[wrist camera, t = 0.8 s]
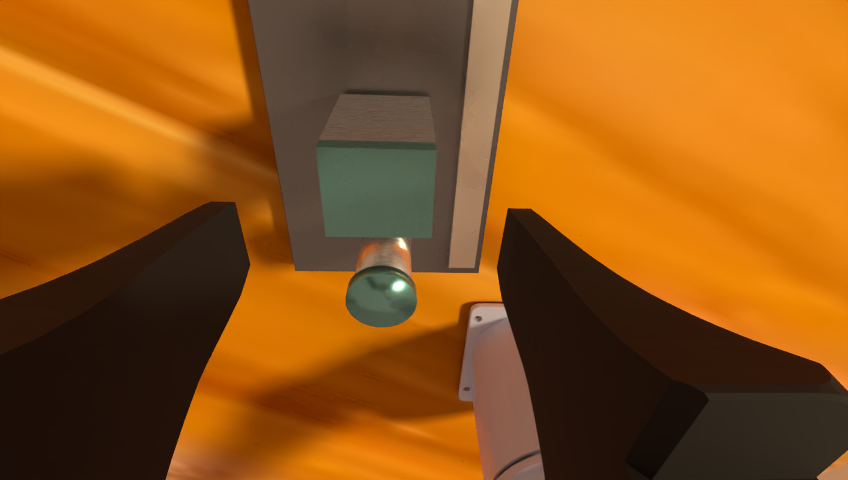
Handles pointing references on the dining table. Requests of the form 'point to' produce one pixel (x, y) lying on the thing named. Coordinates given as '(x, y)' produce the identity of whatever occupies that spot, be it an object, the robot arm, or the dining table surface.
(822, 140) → the dining table surface
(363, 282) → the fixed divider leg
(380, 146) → the leg
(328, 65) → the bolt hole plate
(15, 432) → the robot arm
